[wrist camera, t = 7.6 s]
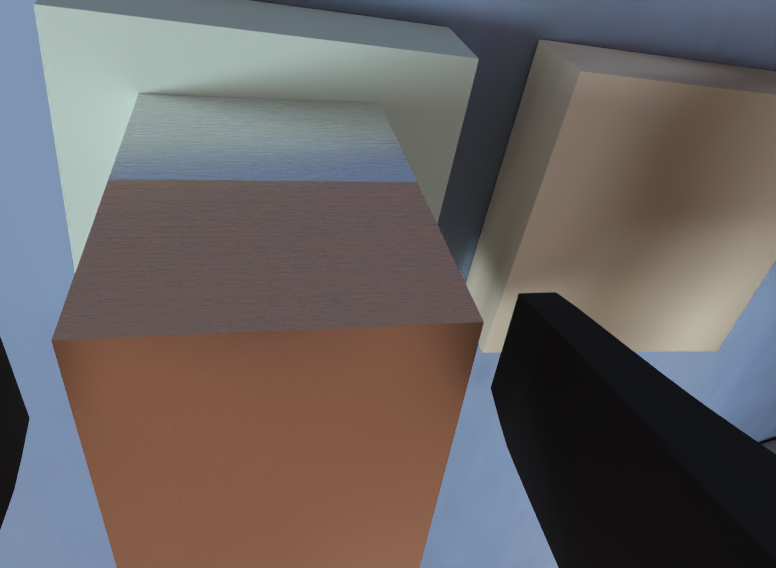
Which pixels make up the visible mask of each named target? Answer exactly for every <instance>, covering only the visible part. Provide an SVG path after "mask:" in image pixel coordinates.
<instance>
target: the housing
mask: <svg viewBox="0 0 776 568" xmlns="http://www.w3.org/2000/svg"><path fill="white" fill-rule="evenodd" d="M483 324H484V321H483V319H482V317H481V315H480V313H479V311H478V308H477V306H476V304H475V302H474V300H473V298H472V296H471V294H470V292H469V290H468V288H467V285H466V283H465V281H464V279H463V277H462V275H461V273H460V271H459V269H458V267H457V264H456V262H455V260H454V258H453V256H452V254H451V252H450V250H449V248H448V246H447V244H446V241H445V239H444V237H443V235H442V233H441V231H440V229H439V227H438V225H437V223H436V221H435V218H434V216H433V214H432V212H431V210H430V208H429V206H428V204H427V202H426V200H425V197H424V195H423V193H422V191H421V189H420V187H419V185H418V183H417V181H416V179H415V177H414V174H413V172H412V170H411V168H410V166H409V164H408V162H407V160H406V158H405V156H404V153H403V151H402V149H401V147H400V145H399V143H398V141H397V139H396V137H395V135H394V133H393V130H392V128H391V126H390V124H389V122H388V120H387V118H386V116H385V114H384V112H383V109H382V107H381V105H380V103H379V102H362V101H335V100H308V99H281V98H255V97H228V96H201V95H174V94H147V93H138V96H137V99H136V102H135V105H134V108H133V110H132V113H131V116H130V119H129V122H128V125H127V128H126V130H125V133H124V136H123V139H122V142H121V145H120V147H119V150H118V153H117V156H116V159H115V162H114V164H113V167H112V170H111V173H110V176H109V179H108V182H107V184H106V187H105V190H104V193H103V196H102V199H101V201H100V204H99V207H98V210H97V213H96V216H95V218H94V221H93V224H92V227H91V230H90V233H89V235H88V238H87V241H86V244H85V247H84V250H83V253H82V255H81V258H80V261H79V264H78V267H77V270H76V272H75V275H74V278H73V281H72V284H71V287H70V289H69V292H68V295H67V298H66V301H65V304H64V307H63V309H62V312H61V315H60V318H59V321H58V324H57V326H56V329H55V332H54V335H53V338H52V344H53V347H54V351H55V354H56V358H57V361H58V365H59V368H60V372H61V375H62V378H63V382H64V385H65V389H66V392H67V396H68V399H69V403H70V406H71V410H72V413H73V417H74V420H75V424H76V427H77V431H78V434H79V437H80V441H81V444H82V448H83V451H84V455H85V458H86V462H87V465H88V469H89V472H90V476H91V479H92V483H93V486H94V490H95V493H96V497H97V500H98V503H99V507H100V510H101V514H102V517H103V521H104V524H105V528H106V531H107V535H108V538H109V542H110V545H111V549H112V552H113V556H114V559H115V562H116V566H117V568H419V567H420V563H421V560H422V556H423V552H424V548H425V544H426V541H427V537H428V533H429V529H430V525H431V521H432V518H433V514H434V510H435V506H436V502H437V499H438V495H439V491H440V487H441V483H442V480H443V476H444V472H445V468H446V464H447V461H448V457H449V453H450V449H451V445H452V442H453V438H454V434H455V430H456V426H457V422H458V419H459V415H460V411H461V407H462V403H463V400H464V396H465V392H466V388H467V384H468V381H469V377H470V373H471V369H472V365H473V362H474V358H475V354H476V350H477V346H478V343H479V339H480V335H481V331H482V327H483Z"/></svg>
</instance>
